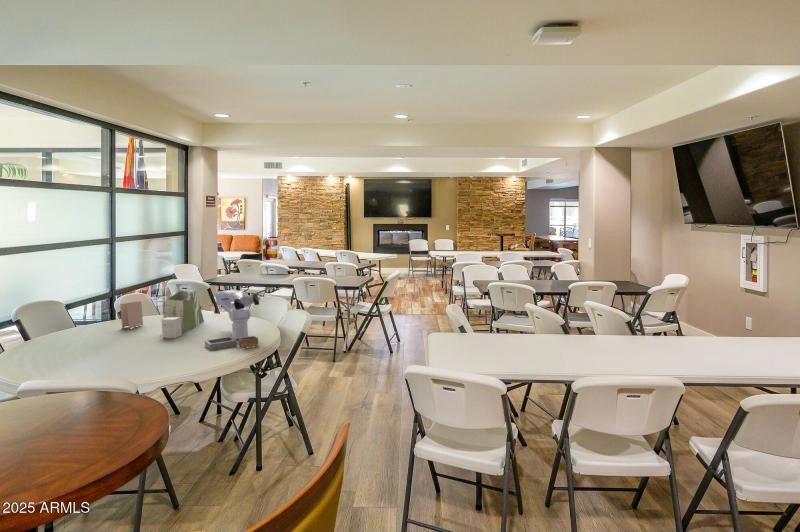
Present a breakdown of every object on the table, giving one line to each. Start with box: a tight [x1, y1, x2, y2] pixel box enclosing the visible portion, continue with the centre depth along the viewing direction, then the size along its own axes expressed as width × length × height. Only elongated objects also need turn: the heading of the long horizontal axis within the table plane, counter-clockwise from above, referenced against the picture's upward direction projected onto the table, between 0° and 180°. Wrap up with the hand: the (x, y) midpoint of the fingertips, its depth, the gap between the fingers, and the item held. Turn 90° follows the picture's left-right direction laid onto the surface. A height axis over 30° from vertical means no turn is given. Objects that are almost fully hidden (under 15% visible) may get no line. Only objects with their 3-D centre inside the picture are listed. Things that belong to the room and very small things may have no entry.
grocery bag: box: [162, 288, 205, 334], centre depth 292 cm, size 32×14×23 cm, turn 5°
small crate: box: [238, 335, 259, 349], centre depth 246 cm, size 5×8×4 cm, turn 125°
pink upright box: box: [120, 300, 144, 329], centre depth 292 cm, size 11×7×15 cm, turn 133°
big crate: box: [204, 335, 238, 351], centre depth 248 cm, size 10×13×3 cm
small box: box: [160, 317, 183, 339], centre depth 268 cm, size 8×6×10 cm
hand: (250, 304), depth 247 cm, fingers open, 7 cm apart
